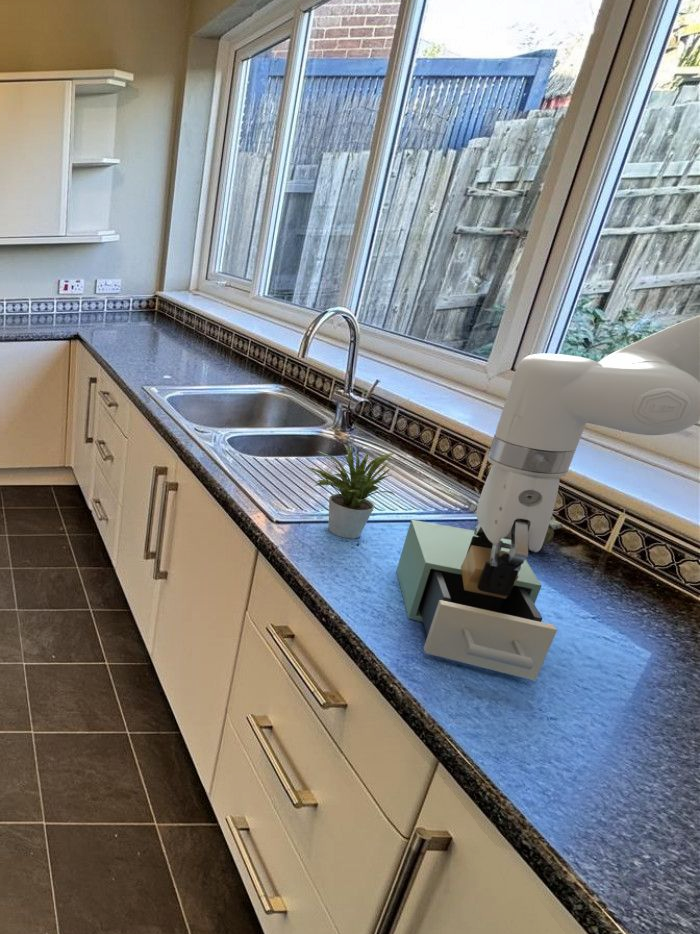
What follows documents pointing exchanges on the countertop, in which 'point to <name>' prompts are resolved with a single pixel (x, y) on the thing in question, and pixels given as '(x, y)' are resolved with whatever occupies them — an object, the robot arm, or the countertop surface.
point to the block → (477, 568)
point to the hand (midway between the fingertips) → (485, 576)
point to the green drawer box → (442, 561)
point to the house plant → (352, 494)
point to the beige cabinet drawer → (484, 627)
